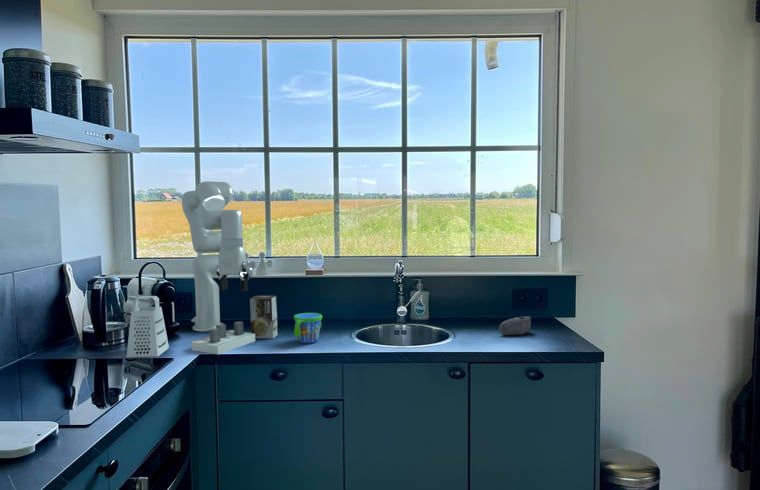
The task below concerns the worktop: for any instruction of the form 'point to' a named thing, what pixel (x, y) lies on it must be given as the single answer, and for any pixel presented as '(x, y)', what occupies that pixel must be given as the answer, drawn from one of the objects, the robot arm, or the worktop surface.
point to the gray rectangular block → (238, 328)
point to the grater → (147, 330)
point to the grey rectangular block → (222, 330)
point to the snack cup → (307, 327)
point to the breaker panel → (223, 343)
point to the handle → (214, 335)
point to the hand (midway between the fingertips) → (233, 290)
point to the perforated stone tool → (515, 326)
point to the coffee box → (264, 316)
